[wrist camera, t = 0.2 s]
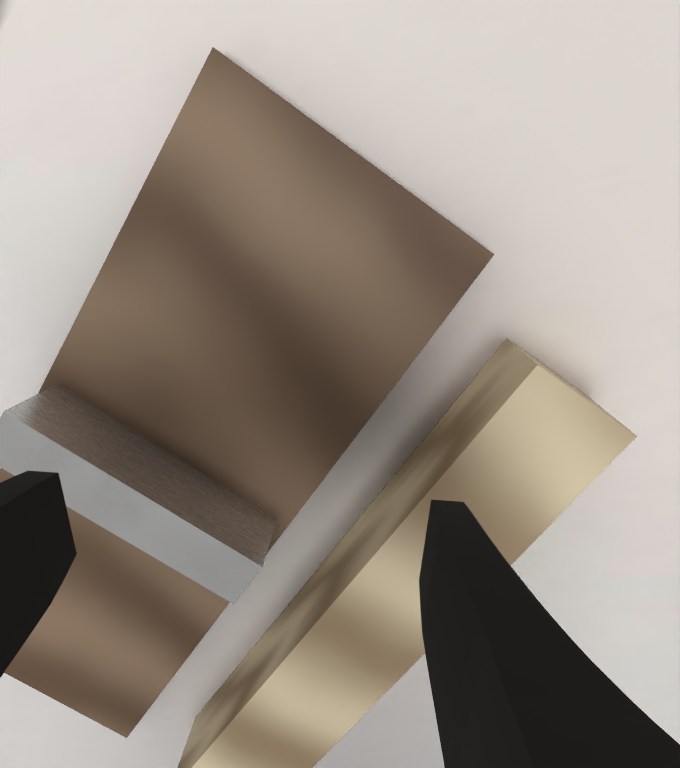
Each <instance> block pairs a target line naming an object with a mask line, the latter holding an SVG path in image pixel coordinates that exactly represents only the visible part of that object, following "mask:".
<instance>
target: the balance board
mask: <svg viewBox="0 0 680 768" xmlns="http://www.w3.org/2000/svg"><path fill="white" fill-rule="evenodd" d="M493 255H494V254H493V253H492V252H490V251H489V250H488V249H486V248H485V247H483V246H482V245H481V244H479V243H478V242H477V241H475V240H474V239H473V238H471V237H470V236H469V235H467V234H466V233H464V232H463V231H462V230H460V229H459V228H458V227H456V226H455V225H454V224H452V223H451V222H450V221H448V220H447V219H445V218H444V217H443V216H441V215H440V214H439V213H437V212H436V211H435V210H433V209H432V208H431V207H429V206H428V205H426V204H425V203H424V202H422V201H421V200H420V199H418V198H417V197H416V196H414V195H413V194H412V193H410V192H409V191H407V190H406V189H405V188H403V187H402V186H401V185H399V184H398V183H397V182H395V181H394V180H393V179H391V178H390V177H388V176H387V175H386V174H384V173H383V172H382V171H380V170H379V169H378V168H376V167H375V166H374V165H372V164H371V163H369V162H368V161H367V160H365V159H364V158H363V157H361V156H360V155H359V154H357V153H356V152H355V151H353V150H352V149H351V148H349V147H348V146H346V145H345V144H344V143H342V142H341V141H340V140H338V139H337V138H336V137H334V136H333V135H332V134H330V133H329V132H327V131H326V130H325V129H323V128H322V127H321V126H319V125H318V124H317V123H315V122H314V121H313V120H311V119H310V118H308V117H307V116H306V115H304V114H303V113H302V112H300V111H299V110H298V109H296V108H295V107H294V106H292V105H291V104H289V103H288V102H287V101H285V100H284V99H283V98H281V97H280V96H279V95H277V94H276V93H275V92H273V91H272V90H270V89H269V88H268V87H266V86H265V85H264V84H262V83H261V82H260V81H258V80H257V79H256V78H254V77H253V76H251V75H250V74H249V73H247V72H246V71H245V70H243V69H242V68H241V67H239V66H238V65H237V64H235V63H234V62H232V61H231V60H230V59H228V58H227V57H226V56H224V55H223V54H222V53H220V52H219V51H218V50H216V49H215V48H212V50H211V52H210V54H209V56H208V58H207V60H206V62H205V64H204V66H203V68H202V70H201V72H200V74H199V76H198V78H197V80H196V82H195V84H194V86H193V88H192V90H191V92H190V94H189V96H188V98H187V100H186V102H185V103H184V105H183V107H182V109H181V111H180V113H179V115H178V117H177V119H176V121H175V123H174V125H173V127H172V129H171V131H170V133H169V135H168V137H167V139H166V141H165V143H164V145H163V147H162V149H161V151H160V153H159V155H158V157H157V159H156V161H155V163H154V165H153V167H152V169H151V171H150V173H149V175H148V177H147V179H146V181H145V183H144V185H143V187H142V189H141V191H140V193H139V195H138V197H137V199H136V201H135V203H134V205H133V207H132V209H131V211H130V213H129V215H128V217H127V219H126V221H125V223H124V225H123V226H122V228H121V230H120V232H119V234H118V236H117V238H116V240H115V242H114V244H113V246H112V248H111V250H110V252H109V254H108V256H107V258H106V260H105V262H104V264H103V266H102V268H101V270H100V272H99V274H98V276H97V278H96V280H95V282H94V284H93V286H92V288H91V290H90V292H89V294H88V296H87V298H86V300H85V302H84V304H83V306H82V308H81V310H80V312H79V314H78V316H77V318H76V320H75V322H74V324H73V326H72V328H71V330H70V332H69V334H68V336H67V338H66V340H65V342H64V344H63V346H62V347H61V349H60V351H59V353H58V355H57V357H56V359H55V361H54V363H53V365H52V367H51V369H50V371H49V373H48V375H47V377H46V379H45V381H44V383H43V385H42V387H41V389H40V391H39V393H41V392H43V391H45V390H47V389H49V388H51V387H53V386H55V385H57V384H60V385H61V386H63V387H65V388H66V389H68V390H69V391H71V392H73V393H74V394H76V395H78V396H79V397H81V398H82V399H84V400H86V401H87V402H89V403H91V404H92V405H94V406H95V407H97V408H99V409H100V410H102V411H103V412H105V413H107V414H108V415H110V416H112V417H113V418H115V419H116V420H118V421H120V422H121V423H123V424H125V425H126V426H128V427H129V428H131V429H133V430H134V431H136V432H137V433H139V434H141V435H142V436H144V437H146V438H147V439H149V440H150V441H152V442H154V443H155V444H157V445H159V446H160V447H162V448H163V449H165V450H167V451H168V452H170V453H171V454H173V455H175V456H176V457H178V458H180V459H181V460H183V461H184V462H186V463H188V464H189V465H191V466H193V467H194V468H196V469H197V470H199V471H201V472H202V473H204V474H205V475H207V476H209V477H210V478H212V479H214V480H215V481H217V482H218V483H220V484H222V485H223V486H225V487H227V488H228V489H230V490H231V491H233V492H235V493H236V494H238V495H239V496H241V497H243V498H244V499H246V500H248V501H249V502H251V503H252V504H254V505H256V506H257V507H259V508H261V509H262V510H264V511H265V512H267V513H269V514H270V515H272V516H273V517H275V518H277V519H278V520H277V523H276V526H275V529H274V532H273V535H272V538H271V541H270V544H269V548H268V551H269V550H270V549H271V547H272V546H273V545H274V543H275V542H276V541H277V539H278V538H279V537H280V535H281V534H282V533H283V532H284V530H285V529H286V528H287V526H288V525H289V524H290V522H291V521H292V520H293V518H294V517H295V516H296V514H297V513H298V512H299V510H300V509H301V508H302V507H303V505H304V504H305V503H306V501H307V500H308V499H309V497H310V496H311V495H312V493H313V492H314V491H315V489H316V488H317V487H318V485H319V484H320V483H321V482H322V480H323V479H324V478H325V476H326V475H327V474H328V472H329V471H330V470H331V468H332V467H333V466H334V464H335V463H336V462H337V460H338V459H339V458H340V457H341V455H342V454H343V453H344V451H345V450H346V449H347V447H348V446H349V445H350V443H351V442H352V441H353V439H354V438H355V437H356V436H357V434H358V433H359V432H360V430H361V429H362V428H363V426H364V425H365V424H366V422H367V421H368V420H369V418H370V417H371V416H372V414H373V413H374V412H375V411H376V409H377V408H378V407H379V405H380V404H381V403H382V401H383V400H384V399H385V397H386V396H387V395H388V393H389V392H390V391H391V389H392V388H393V387H394V386H395V384H396V383H397V382H398V380H399V379H400V378H401V376H402V375H403V374H404V372H405V371H406V370H407V368H408V367H409V366H410V364H411V363H412V362H413V361H414V359H415V358H416V357H417V355H418V354H419V353H420V351H421V350H422V349H423V347H424V346H425V345H426V343H427V342H428V341H429V339H430V338H431V337H432V336H433V334H434V333H435V332H436V330H437V329H438V328H439V326H440V325H441V324H442V322H443V321H444V320H445V318H446V317H447V316H448V315H449V313H450V312H451V311H452V309H453V308H454V307H455V305H456V304H457V303H458V301H459V300H460V299H461V297H462V296H463V295H464V293H465V292H466V291H467V290H468V288H469V287H470V286H471V284H472V283H473V282H474V280H475V279H476V278H477V276H478V275H479V274H480V272H481V271H482V270H483V268H484V267H485V266H486V265H487V263H488V262H489V261H490V259H491V258H492V257H493ZM39 393H38V394H39ZM11 477H14V475H13V474H11V473H9V472H7V471H6V470H4V469H2V468H1V469H0V483H1V482H3V481H5V480H7V479H9V478H11ZM66 508H67V513H68V517H69V521H70V526H71V530H72V535H73V539H74V544H75V548H76V552H77V555H76V557H75V559H74V561H73V563H72V565H71V567H70V569H69V571H68V573H67V575H66V577H65V579H64V581H63V583H62V585H61V586H60V588H59V590H58V592H57V594H56V596H55V597H54V599H53V601H52V603H51V604H50V606H49V608H48V609H47V611H46V612H45V614H44V615H43V617H42V618H41V619H40V621H39V622H38V624H37V625H36V627H35V628H34V630H33V631H32V633H31V634H30V636H29V637H28V639H27V640H26V641H25V643H24V644H23V646H22V647H21V649H20V650H19V652H18V653H17V654H16V656H15V657H14V659H13V660H12V662H11V663H10V665H9V666H8V667H7V669H6V670H5V672H4V673H6V674H8V675H10V676H12V677H13V678H15V679H17V680H19V681H21V682H23V683H25V684H27V685H28V686H30V687H32V688H34V689H36V690H38V691H40V692H42V693H43V694H45V695H47V696H49V697H51V698H53V699H55V700H57V701H58V702H60V703H62V704H64V705H66V706H68V707H70V708H72V709H73V710H75V711H77V712H79V713H81V714H83V715H85V716H87V717H88V718H90V719H92V720H94V721H96V722H98V723H100V724H102V725H103V726H105V727H107V728H109V729H111V730H113V731H115V732H117V733H118V734H120V735H122V736H124V737H126V738H127V737H128V735H129V734H130V733H131V731H132V730H133V729H134V727H135V726H136V725H137V724H138V722H139V721H140V720H141V718H142V717H143V716H144V714H145V713H146V712H147V710H148V709H149V708H150V706H151V705H152V704H153V702H154V701H155V700H156V699H157V697H158V696H159V695H160V693H161V692H162V691H163V689H164V688H165V687H166V685H167V684H168V683H169V681H170V680H171V679H172V677H173V676H174V675H175V674H176V672H177V671H178V670H179V668H180V667H181V666H182V664H183V663H184V662H185V660H186V659H187V658H188V656H189V655H190V654H191V653H192V651H193V650H194V649H195V647H196V646H197V645H198V643H199V642H200V641H201V639H202V638H203V637H204V635H205V634H206V633H207V631H208V630H209V629H210V628H211V626H212V625H213V624H214V622H215V621H216V620H217V618H218V617H219V616H220V614H221V613H222V612H223V610H224V609H225V608H226V606H227V605H228V604H229V603H230V602H229V601H227V600H226V599H224V598H222V597H221V596H219V595H217V594H215V593H214V592H212V591H210V590H209V589H207V588H205V587H204V586H202V585H200V584H198V583H197V582H195V581H193V580H192V579H190V578H188V577H186V576H185V575H183V574H181V573H180V572H178V571H176V570H175V569H173V568H171V567H169V566H168V565H166V564H164V563H163V562H161V561H159V560H157V559H156V558H154V557H152V556H151V555H149V554H147V553H146V552H144V551H142V550H140V549H139V548H137V547H135V546H134V545H132V544H130V543H128V542H127V541H125V540H123V539H122V538H120V537H118V536H117V535H115V534H113V533H111V532H110V531H108V530H106V529H105V528H103V527H101V526H99V525H98V524H96V523H94V522H93V521H91V520H89V519H88V518H86V517H84V516H82V515H81V514H79V513H77V512H76V511H74V510H72V509H71V508H69V507H67V506H66ZM268 551H267V553H268Z"/></svg>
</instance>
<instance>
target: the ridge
mask: <svg viewBox="0 0 680 768" xmlns="http://www.w3.org/2000/svg"><path fill="white" fill-rule="evenodd" d="M0 467H1V468H2V469H4V470H6V471H7V472H9V473H11V474H13V475H14V476H16V475H18V474H21V473H23V472H26V471H41V472H55V473H59V477H60V481H61V486H62V490H63V495H64V499H65V504H66V506H67V507H69V508H71V509H72V510H74V511H76V512H77V513H79V514H81V515H82V516H84V517H86V518H88V519H89V520H91V521H93V522H94V523H96V524H98V525H99V526H101V527H103V528H105V529H106V530H108V531H110V532H111V533H113V534H115V535H117V536H118V537H120V538H122V539H123V540H125V541H127V542H128V543H130V544H132V545H134V546H135V547H137V548H139V549H140V550H142V551H144V552H146V553H147V554H149V555H151V556H152V557H154V558H156V559H157V560H159V561H161V562H163V563H164V564H166V565H168V566H169V567H171V568H173V569H175V570H176V571H178V572H180V573H181V574H183V575H185V576H186V577H188V578H190V579H192V580H193V581H195V582H197V583H198V584H200V585H202V586H204V587H205V588H207V589H209V590H210V591H212V592H214V593H215V594H217V595H219V596H221V597H222V598H224V599H226V600H227V601H229V602H231V603H232V604H234V603H235V602H236V600H237V599H238V598H239V597H240V595H241V594H242V593H243V591H244V590H245V589H246V587H247V586H248V585H249V583H250V582H251V581H252V580H253V578H254V577H255V576H256V574H257V573H258V572H259V570H260V569H261V568H262V566H263V563H264V560H265V557H266V554H267V551H268V548H269V544H270V541H271V538H272V535H273V532H274V529H275V526H276V523H277V520H278V519H277V518H275V517H273V516H272V515H270V514H269V513H267V512H265V511H264V510H262V509H261V508H259V507H257V506H256V505H254V504H252V503H251V502H249V501H248V500H246V499H244V498H243V497H241V496H239V495H238V494H236V493H235V492H233V491H231V490H230V489H228V488H227V487H225V486H223V485H222V484H220V483H218V482H217V481H215V480H214V479H212V478H210V477H209V476H207V475H205V474H204V473H202V472H201V471H199V470H197V469H196V468H194V467H193V466H191V465H189V464H188V463H186V462H184V461H183V460H181V459H180V458H178V457H176V456H175V455H173V454H171V453H170V452H168V451H167V450H165V449H163V448H162V447H160V446H159V445H157V444H155V443H154V442H152V441H150V440H149V439H147V438H146V437H144V436H142V435H141V434H139V433H137V432H136V431H134V430H133V429H131V428H129V427H128V426H126V425H125V424H123V423H121V422H120V421H118V420H116V419H115V418H113V417H112V416H110V415H108V414H107V413H105V412H103V411H102V410H100V409H99V408H97V407H95V406H94V405H92V404H91V403H89V402H87V401H86V400H84V399H82V398H81V397H79V396H78V395H76V394H74V393H73V392H71V391H69V390H68V389H66V388H65V387H63V386H61V385H60V384H57V385H55V386H53V387H51V388H49V389H47V390H45V391H43V392H41V393H39V394H37V395H35V396H33V397H31V398H29V399H27V400H25V401H23V402H21V403H19V404H17V405H15V406H13V407H11V408H9V409H7V410H5V411H4V412H3V414H2V416H1V418H0Z"/></svg>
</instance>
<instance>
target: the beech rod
mask: <svg viewBox="0 0 680 768" xmlns="http://www.w3.org/2000/svg"><path fill="white" fill-rule="evenodd" d="M636 437H637V436H636V435H635V434H634V433H632V432H631V431H630V430H629V429H627V428H626V427H625V426H624V425H623V424H621V423H620V422H619V421H618V420H616V419H615V418H614V417H613V416H611V415H610V414H609V413H608V412H606V411H605V410H604V409H603V408H601V407H600V406H599V405H598V404H596V403H595V402H594V401H593V400H591V399H590V398H589V397H588V396H586V395H585V394H583V393H582V392H581V391H579V390H578V389H576V388H575V387H574V386H572V385H571V384H569V383H568V382H567V381H565V380H564V379H563V378H561V377H560V376H558V375H557V374H556V373H554V372H553V371H551V370H550V369H549V368H547V367H546V366H545V365H543V364H542V363H540V362H539V361H538V360H536V359H535V358H533V357H532V356H531V355H529V354H528V353H527V352H525V351H524V350H522V349H521V348H520V347H518V346H517V345H515V344H514V343H513V342H511V341H510V340H509V339H506V340H505V341H504V342H503V344H502V345H501V346H500V347H499V349H498V350H497V351H496V352H495V353H494V355H493V356H492V357H491V358H490V360H489V361H488V362H487V363H486V364H485V366H484V367H483V368H482V369H481V370H480V372H479V373H478V374H477V375H476V377H475V378H474V379H473V380H472V381H471V383H470V384H469V385H468V386H467V388H466V389H465V390H464V391H463V392H462V394H461V395H460V396H459V397H458V399H457V400H456V401H455V402H454V403H453V405H452V406H451V407H450V408H449V409H448V411H447V412H446V413H445V414H444V416H443V417H442V418H441V419H440V420H439V422H438V423H437V424H436V425H435V427H434V428H433V429H432V430H431V431H430V433H429V434H428V435H427V436H426V437H425V439H424V440H423V441H422V442H421V444H420V445H419V446H418V447H417V448H416V450H415V451H414V452H413V453H412V455H411V456H410V457H409V458H408V459H407V461H406V462H405V463H404V464H403V466H402V467H401V468H400V469H399V470H398V472H397V473H396V474H395V475H394V476H393V478H392V479H391V480H390V481H389V483H388V484H387V485H386V486H385V487H384V489H383V490H382V491H381V492H380V494H379V495H378V496H377V497H376V498H375V500H374V501H373V502H372V503H371V504H370V506H369V507H368V508H367V509H366V511H365V512H364V513H363V514H362V515H361V517H360V518H359V519H358V520H357V522H356V523H355V524H354V525H353V526H352V528H351V529H350V530H349V531H348V533H347V534H346V535H345V536H344V537H343V539H342V540H341V541H340V542H339V543H338V545H337V546H336V547H335V548H334V550H333V551H332V552H331V553H330V554H329V556H328V557H327V558H326V559H325V561H324V562H323V563H322V564H321V565H320V567H319V568H318V569H317V570H316V571H315V573H314V574H313V575H312V576H311V578H310V579H309V580H308V581H307V582H306V584H305V585H304V586H303V587H302V589H301V590H300V591H299V592H298V593H297V595H296V596H295V597H294V598H293V600H292V601H291V602H290V603H289V604H288V606H287V607H286V608H285V609H284V610H283V612H282V613H281V614H280V615H279V617H278V618H277V619H276V620H275V621H274V623H273V624H272V625H271V626H270V628H269V629H268V630H267V631H266V632H265V634H264V635H263V636H262V637H261V638H260V640H259V641H258V642H257V643H256V645H255V646H254V647H253V648H252V649H251V651H250V652H249V653H248V654H247V656H246V657H245V658H244V659H243V660H242V662H241V663H240V664H239V665H238V667H237V668H236V669H235V670H234V671H233V673H232V674H231V675H230V676H229V677H228V679H227V680H226V681H225V682H224V684H223V685H222V686H221V687H220V688H219V690H218V691H217V692H216V693H215V695H214V696H213V697H212V698H211V699H210V701H209V702H208V703H207V704H206V705H205V707H204V708H203V709H202V710H201V712H200V713H199V714H198V715H197V716H196V718H195V721H194V724H193V726H192V729H191V732H190V735H189V737H188V740H187V743H186V746H185V749H184V751H183V754H182V757H181V760H180V763H179V765H178V768H312V767H313V766H314V765H315V764H316V763H317V762H318V761H319V760H320V759H321V758H322V757H323V756H324V755H325V754H326V753H327V752H328V751H329V750H330V749H331V748H332V747H333V746H334V745H335V744H336V743H337V742H338V741H339V740H340V739H341V738H342V737H343V736H344V735H345V734H346V733H347V732H348V731H349V730H350V729H351V728H352V727H353V726H354V725H355V724H356V723H357V722H358V721H359V719H360V718H361V717H362V716H363V715H364V714H365V713H366V712H367V711H368V710H369V709H370V708H371V707H372V706H373V705H374V704H375V703H376V702H377V701H378V700H379V699H380V698H381V697H382V696H383V695H384V694H385V693H386V692H387V691H388V690H389V689H390V688H391V687H392V686H393V685H394V684H395V683H396V682H397V681H398V680H399V679H400V678H401V677H402V676H403V675H404V674H405V673H406V672H407V671H408V670H409V668H410V667H411V666H412V665H413V664H414V663H415V662H416V661H417V660H418V659H419V658H420V657H421V656H422V655H423V654H424V653H425V648H424V642H423V635H422V624H421V609H420V591H419V576H420V570H421V563H422V556H423V550H424V543H425V537H426V530H427V524H428V517H429V510H430V504H431V500H445V501H459V502H464V503H465V504H466V505H467V506H468V508H469V509H470V511H471V512H472V513H473V515H474V516H475V518H476V519H477V521H478V522H479V523H480V525H481V526H482V528H483V529H484V531H485V532H486V533H487V535H488V536H489V538H490V539H491V540H492V542H493V543H494V544H495V546H496V547H497V548H498V550H499V551H500V553H501V554H502V555H503V557H504V558H505V559H506V561H507V562H508V563H509V565H511V564H512V563H513V562H514V561H515V560H516V559H517V558H518V557H519V556H520V555H521V554H522V553H523V552H524V551H525V550H526V549H527V548H528V547H529V546H530V545H531V544H532V543H533V542H534V541H535V540H536V539H537V538H538V537H539V536H540V535H541V534H542V533H543V532H544V531H545V530H546V529H547V528H548V527H549V526H550V525H551V524H552V523H553V522H554V521H555V520H556V519H557V518H558V517H559V516H560V515H561V513H562V512H563V511H564V510H565V509H566V508H567V507H568V506H569V505H570V504H571V503H572V502H573V501H574V500H575V499H576V498H577V497H578V496H579V495H580V494H581V493H582V492H583V491H584V490H585V489H586V488H587V487H588V486H589V485H590V484H591V483H592V482H593V481H594V480H595V479H596V478H597V477H598V476H599V475H600V474H601V473H602V472H603V471H604V470H605V469H606V468H607V467H608V466H609V465H610V464H611V462H612V461H613V460H614V459H615V458H616V457H617V456H618V455H619V454H620V453H621V452H622V451H623V450H624V449H625V448H626V447H627V446H628V445H629V444H630V443H631V442H632V441H633V440H634V439H635V438H636Z"/></svg>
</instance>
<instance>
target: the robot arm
mask: <svg viewBox="0 0 680 768" xmlns="http://www.w3.org/2000/svg"><path fill="white" fill-rule="evenodd" d="M76 555H77V552H76V548H75V544H74V539H73V535H72V530H71V526H70V521H69V517H68V513H67V508H66V504H65V499H64V495H63V490H62V486H61V481H60V477H59V473H55V472H41V471H26V472H23V473H21V474H18V475H16V476H14V477H11V478H9V479H7V480H5V481H3V482H1V483H0V677H1V676H2V675H3V673H4V672H5V670H6V669H7V667H8V666H9V665H10V663H11V662H12V660H13V659H14V657H15V656H16V654H17V653H18V652H19V650H20V649H21V647H22V646H23V644H24V643H25V641H26V640H27V639H28V637H29V636H30V634H31V633H32V631H33V630H34V628H35V627H36V625H37V624H38V622H39V621H40V619H41V618H42V617H43V615H44V614H45V612H46V611H47V609H48V608H49V606H50V604H51V603H52V601H53V599H54V597H55V596H56V594H57V592H58V590H59V588H60V586H61V585H62V583H63V581H64V579H65V577H66V575H67V573H68V571H69V569H70V567H71V565H72V563H73V561H74V559H75V557H76ZM419 591H420V609H421V624H422V635H423V642H424V648H425V654H426V660H427V666H428V672H429V678H430V684H431V689H432V695H433V701H434V707H435V713H436V719H437V724H438V730H439V736H440V742H441V748H442V754H443V759H444V765H445V768H680V744H678V743H677V742H676V741H675V740H674V739H673V738H672V737H670V736H669V735H668V734H667V733H666V732H665V731H664V730H663V729H661V728H660V727H659V726H658V725H657V724H656V723H655V722H654V721H653V720H652V719H650V718H649V717H648V716H647V715H646V714H645V713H644V712H643V711H642V710H641V709H640V708H639V707H638V706H637V705H636V704H634V703H633V702H632V701H631V700H630V699H629V698H628V697H627V696H626V695H625V694H624V693H623V692H622V691H621V690H620V689H619V688H618V687H617V686H616V685H615V684H614V683H613V682H612V681H611V680H610V679H609V678H608V677H607V676H606V675H605V674H604V673H603V672H602V671H601V670H600V669H599V668H598V667H597V666H596V665H595V664H594V663H593V662H592V661H591V660H590V659H589V658H588V657H587V656H586V654H585V653H584V652H583V651H582V650H581V649H580V648H579V647H578V646H577V645H576V644H575V643H574V641H573V640H572V639H571V638H570V637H569V636H568V635H567V634H566V632H565V631H564V630H563V629H562V628H561V627H560V626H559V624H558V623H557V622H556V621H555V620H554V619H553V618H552V616H551V615H550V614H549V613H548V612H547V611H546V609H545V608H544V607H543V606H542V605H541V603H540V602H539V601H538V600H537V599H536V597H535V596H534V595H533V594H532V592H531V591H530V590H529V589H528V587H527V586H526V585H525V584H524V582H523V581H522V580H521V579H520V577H519V576H518V575H517V574H516V572H515V571H514V570H513V568H512V567H511V566H510V565H509V563H508V562H507V561H506V559H505V558H504V557H503V555H502V554H501V553H500V551H499V550H498V548H497V547H496V546H495V544H494V543H493V542H492V540H491V539H490V538H489V536H488V535H487V533H486V532H485V531H484V529H483V528H482V526H481V525H480V523H479V522H478V521H477V519H476V518H475V516H474V515H473V513H472V512H471V511H470V509H469V508H468V506H467V505H466V504H465V503H464V502H459V501H445V500H431V504H430V510H429V517H428V524H427V530H426V537H425V543H424V550H423V556H422V563H421V570H420V576H419Z"/></svg>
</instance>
